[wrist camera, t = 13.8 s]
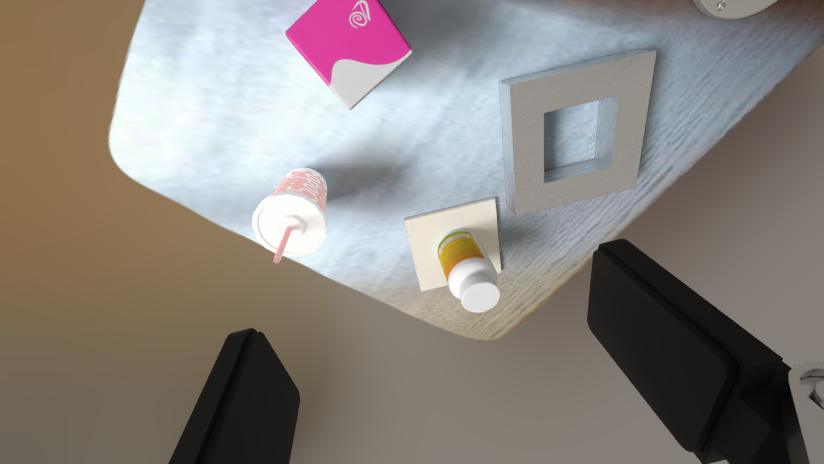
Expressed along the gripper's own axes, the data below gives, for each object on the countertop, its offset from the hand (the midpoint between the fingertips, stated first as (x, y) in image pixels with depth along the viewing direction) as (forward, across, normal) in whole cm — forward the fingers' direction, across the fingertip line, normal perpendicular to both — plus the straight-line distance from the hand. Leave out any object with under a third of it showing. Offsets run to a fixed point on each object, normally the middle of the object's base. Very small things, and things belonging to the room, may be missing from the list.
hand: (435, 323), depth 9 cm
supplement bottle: (+28, -5, +17) cm, 33 cm away
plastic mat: (+28, -5, +17) cm, 33 cm away
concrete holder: (+28, -19, +6) cm, 35 cm away
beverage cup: (+28, +10, +5) cm, 31 cm away
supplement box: (+28, +1, -7) cm, 29 cm away
